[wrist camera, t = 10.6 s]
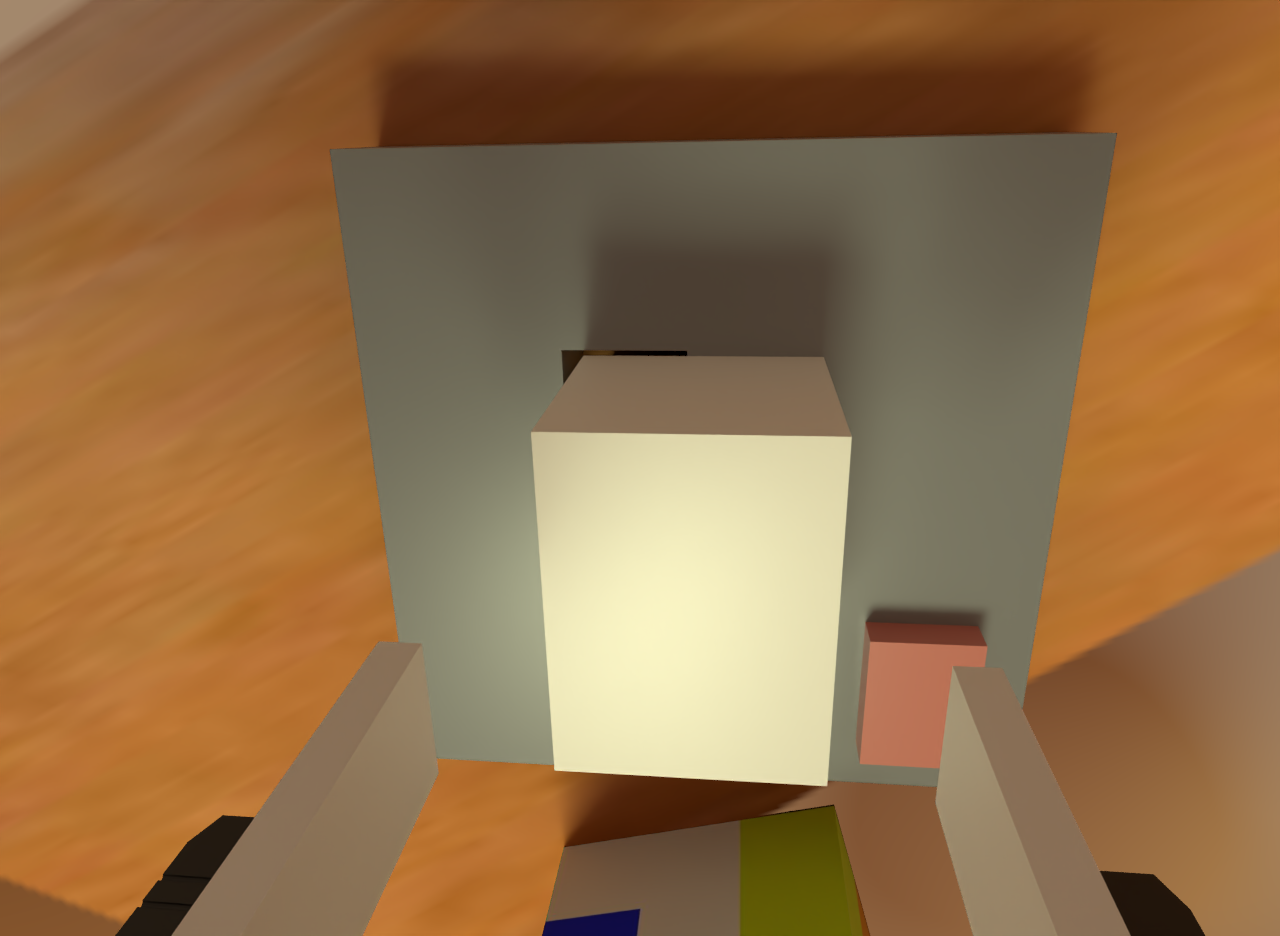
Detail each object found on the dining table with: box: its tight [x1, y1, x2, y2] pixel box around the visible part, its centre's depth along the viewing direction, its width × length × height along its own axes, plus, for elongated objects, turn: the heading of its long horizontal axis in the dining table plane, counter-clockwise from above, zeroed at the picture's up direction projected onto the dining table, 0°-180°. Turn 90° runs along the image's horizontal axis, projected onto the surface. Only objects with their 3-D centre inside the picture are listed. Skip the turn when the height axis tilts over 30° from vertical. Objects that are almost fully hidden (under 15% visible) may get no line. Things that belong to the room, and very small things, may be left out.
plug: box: [531, 356, 852, 786], centre depth 22 cm, size 6×8×9 cm
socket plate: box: [330, 132, 1117, 787], centre depth 24 cm, size 18×18×4 cm
